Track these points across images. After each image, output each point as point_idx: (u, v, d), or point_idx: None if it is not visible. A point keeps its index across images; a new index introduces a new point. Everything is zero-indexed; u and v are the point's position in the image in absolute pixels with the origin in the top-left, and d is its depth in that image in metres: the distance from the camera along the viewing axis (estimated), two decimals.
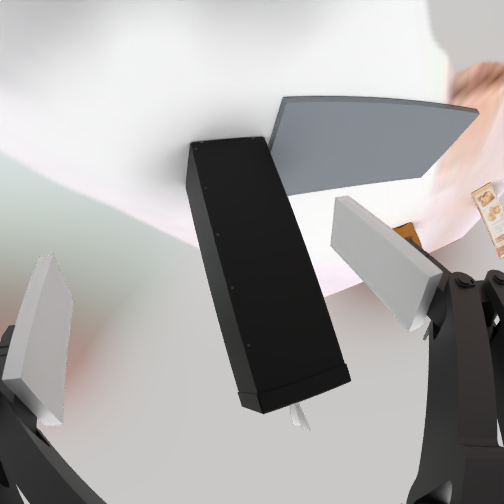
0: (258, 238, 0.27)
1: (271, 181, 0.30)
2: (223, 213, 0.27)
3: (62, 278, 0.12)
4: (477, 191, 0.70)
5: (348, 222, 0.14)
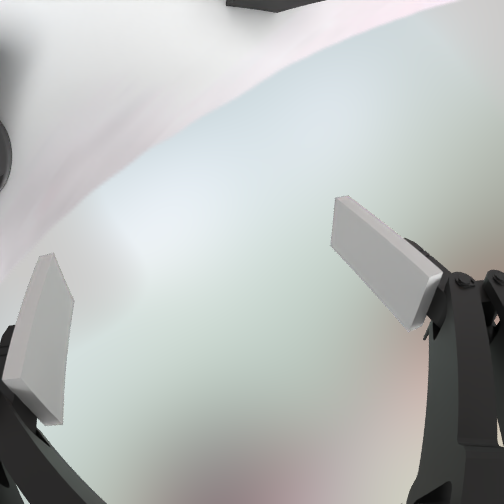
0: None
1: None
2: None
3: (62, 278, 0.12)
4: None
5: (348, 222, 0.14)
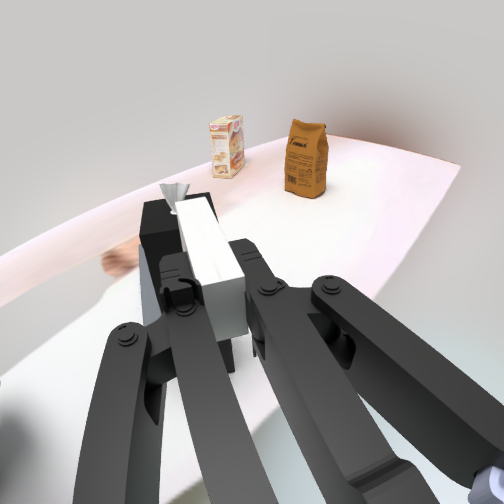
0: None
1: None
2: None
3: None
4: (226, 177, 1.08)
5: None
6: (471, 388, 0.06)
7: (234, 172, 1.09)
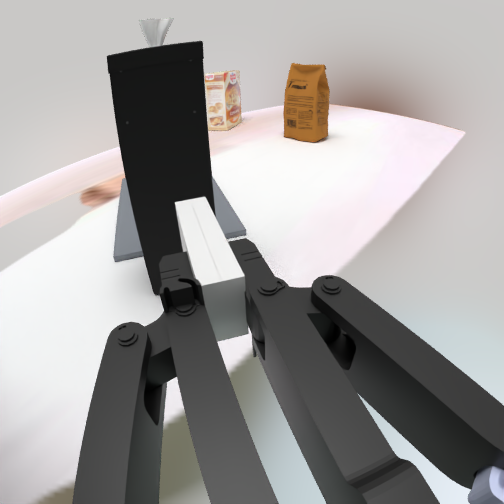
0: None
1: None
2: None
3: None
4: (221, 129, 0.98)
5: None
6: (471, 387, 0.06)
7: (230, 125, 1.00)
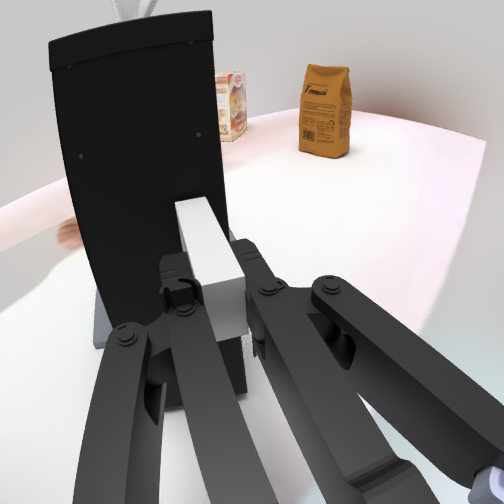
0: None
1: None
2: None
3: None
4: (225, 139, 0.86)
5: None
6: (471, 388, 0.06)
7: (235, 134, 0.88)
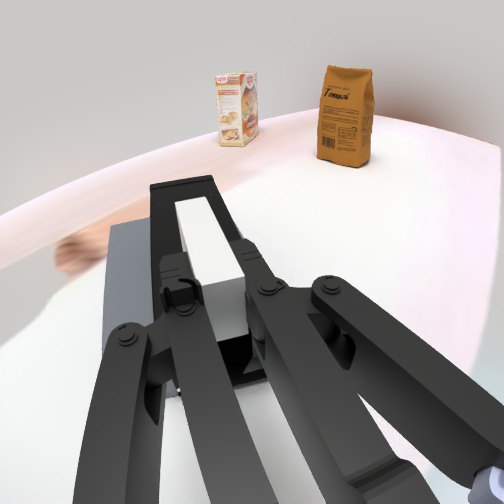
0: None
1: None
2: None
3: None
4: (236, 145, 0.81)
5: None
6: (471, 387, 0.06)
7: (247, 139, 0.82)
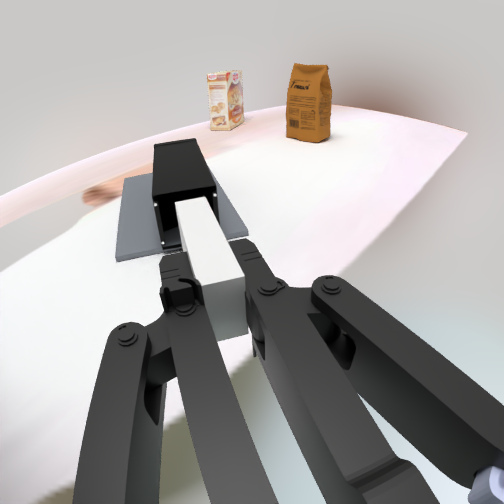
0: None
1: None
2: None
3: None
4: (224, 129, 0.98)
5: None
6: (471, 387, 0.06)
7: (233, 125, 1.00)
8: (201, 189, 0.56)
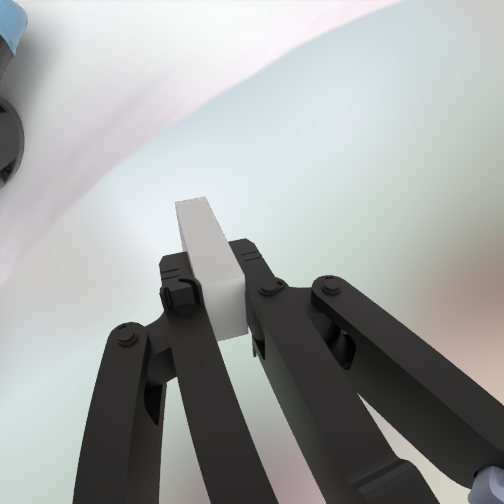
0: None
1: None
2: None
3: None
4: None
5: None
6: (471, 387, 0.06)
7: None
8: None
